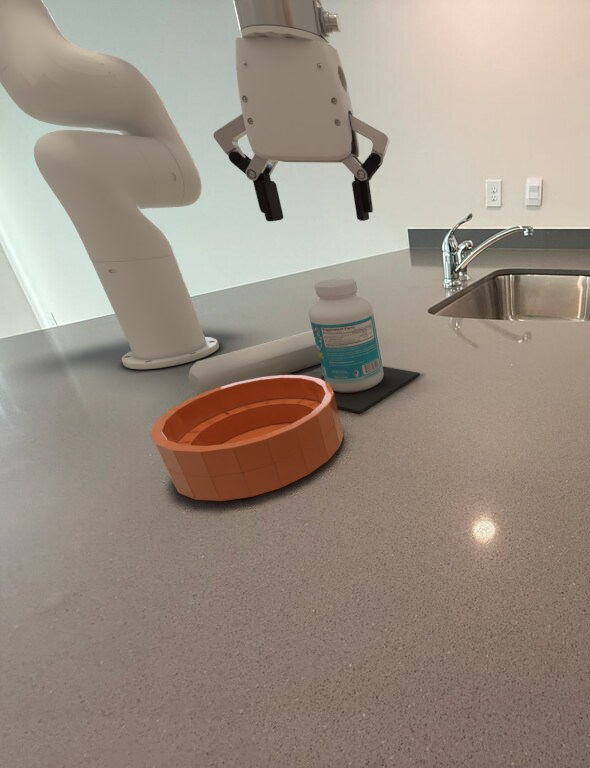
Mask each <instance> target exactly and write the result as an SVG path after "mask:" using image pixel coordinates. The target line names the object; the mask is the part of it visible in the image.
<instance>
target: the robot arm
mask: <svg viewBox="0 0 590 768" xmlns="http://www.w3.org/2000/svg"><path fill="white" fill-rule="evenodd" d="M232 2H233V6H234V11H235V16H236V20H237V24H238V28H239V32H240V33H239V34H240V37H235V38H234V51H235V70H236V79H237V81H236V82H237V89H238V96H239V102H240V108H241V114H239V115H238V116H237V117H235V118H234V119H232V120H230V121H229V122H227V123H225V124H224V125H223V126H221V127H219V128H217V130H215V131H214V132H213V138H214V140H215V141H216V143H217V144H218V145H219V147H220V148H221V149H222V151H223V152H224V153H225V154H226V155H227V157H228V160H229V162H230V163H231V164H233V165H234V166H235V167H236V168H238V169H239V170H240V171H241V172H242V173H244V175H245V176H246V178H247V179H248V180H250V181H252V184H253V187H254V192H255V195H256V199H257V204H258V207H259V208H258V209H259V210H260V212H261V213H262V214H264V217H265V220H266V222H277V221H282V220H283V219H284V212H283V208H282V205H281V199H280V194H279V190H278V187H277V183H276V182H275V181H274V180H272V179H271V175H272V173H273V172H274V171H275V168H276V166H277V164H278V163H279V162H283V163H314V164H315V163H317V164H319V163H322V164H325V163H326V164H329V163H332V164H333V163H334V164H335V163H337V164H338V163H339V164H341V163H342V164H343V165H344V166H345V167H346V168H347V169H348V170H349V171H350V172H351V173H352V175H353V179H354V180H352V182H351V187H352V188H351V189H352V193H353V201H354V202H353V203H354V207H355V214H356V219H357V220H358V221H360V222H363V221H368V220H369V219H370V213H373V211H374V207H373V200H372V193H371V185H370V181H371V180H372V179H373V176H374V175H375V174H376V173H377V171H378V170H379V169H380V167H382V165H383V163H384V158H385V155H386V153H387V151H388V148H389V145H390V141H391V140H390V137H389V136H388V135H387V134H385V133H384V132H382V131H381V130H378V129H377V128H375V127H374V126H372V125H370V124H368V123H366V122H364V121H363V120H361V119H359V118H357V117H355V116H354V110H353V106H352V101H351V95H350V92H349V88H348V82H347V78H346V74H345V71H344V68H343V65H342V62H341V58H340V55H339V52H338V50H337V49H336V48H335V47H334V46H332V45H331V44H330V37H331V35H332V34H334V33H341V31H342V29H341V22H340V18H339V14H338V13H330V11H326V10H325V9H324V7H323V6H322V0H232ZM0 85H1V86H2V88H3V89H4V90H5V92H6V93H7V95H8V96H9V97H10V98H11V100H12V102H14V104H15V105H16V106H17V107H18V108H19V109H20V110H21V111H22V112H24V114H26V115H28V117H31V118H33V119H34V120H37V121H39V122H43V123H45V124H50V125H55V126H59V127H60V126H62V127H68V128H77V129H62V130H61V129H60V130H54V131H49V132H46V133H44V134H42V135H41V136H40V137H39V138H38V139H37V140H36V142H35V144H34V146H33V156H34V161H35V164H36V166H37V168H38V170H39V172H40V174H41V176H42V178H43V179H44V181H45V183H46V184H47V186H48V187H49V188H50V190H51V191H52V193H53V194H54V196H55V198H57V200H58V202H59V204H60V205H61V206H62V208H63V209H64V211H65V212H66V214H67V215H68V217H69V220H70V221H71V222H72V225H73V227H74V228H75V230H76V232H77V234H78V236H79V239H80V240H81V242H82V244H83V247H84V248H85V251H86V253H87V256H88V257H89V259H90V261H91V264H92V266H93V268H94V270H95V272H96V275H97V277H98V279H99V282H100V283H101V286H102V288H103V290H104V293H105V295H106V297H107V299H108V301H109V304H110V306H111V308H112V310H113V312H114V315H115V317H116V319H117V321H118V324H119V326H120V328H121V331H122V332H123V334H124V337H125V339H126V342H127V344H128V347H129V348H130V351H128V352H127V353H124V355H123V356H122V357H121V362H122V365H123V366H124V367H125V368H127V369H130V370H131V369H132V370H153V369H154V370H155V369H163V368H168V367H174V366H175V367H176V366H180V365H183V364H187V363H192V362H195V361H199V360H202V359H203V358H205V357H208V356H210V355H213V354H214V353H215V352H216V351H218V350H219V348H220V343H219V341H218V339H216V338H214V337H210V336H205V334H204V331H203V328H202V325H201V322H200V320H199V318H198V315H197V312H196V309H195V306H194V303H193V300H192V298H191V295H190V292H189V290H188V286H187V284H186V282H185V279H184V276H183V273H182V271H181V270H182V269H181V268H180V265H179V262H178V258H177V256H176V254H175V252H174V249H173V246H172V244H171V241H170V240H169V238H168V237H167V235H166V233H164V231H163V230H162V229H161V228H160V227H159V226H158V225H157V224H155V223H154V222H153V220H152V219H150V218H149V217H147V215H146V214H144V213H143V212H142V211H141V210H146V209H170V208H171V209H172V208H184V207H188V206H189V207H190V206H192V205H194V204H196V203H197V202H198V201H199V200H200V198H201V196H202V191H203V184H202V178H201V175H200V172H199V169H198V166H197V164H196V162H195V160H194V158H193V155H192V154H191V152H190V150H189V148H188V146H187V144H186V142H185V141H184V139H183V137H182V135H181V133H180V131H179V129H178V128H177V126H176V123H175V122H174V120H173V118H172V116H171V114H170V112H169V111H168V108H167V107H166V105H165V103H164V101H163V99H162V96H160V93H159V92H158V90H157V89H156V87H155V86H154V85H153V83H152V82H151V81H150V79H149V78H148V77H147V76H146V74H144V72H142V71H141V70H140V69H139V68H138V67H136V66H135V65H134V64H133V63H131V62H129V61H127V60H125V59H124V58H121V57H119V56H116V55H113V54H110V53H106V52H102V51H97V50H93V49H89V48H84V47H81V46H78V45H76V44H75V43H73V42H72V41H70V40H68V38H67V37H66V36H65V35H64V34H63V32H62V31H61V29H60V28H59V26H58V24H57V23H56V21H55V19H54V17H53V16H52V13H51V12H50V10H49V8H48V7H47V5H46V4H45V2H44V1H43V0H0ZM83 129H87V130H83ZM104 131H105V132H104ZM106 131H107V132H106ZM114 132H115V133H114ZM358 134H359V135H361V136H362V137H365V138H366V139H368V140H370V141H371V143H372V148H371V152H370V154H369V155H368V156H367V157H366V159H365V160H364V162H362V161H361V160H360V158H359V156H360V143H359V137H358ZM245 136H247V140H248V145H249V147H250V149H251V151H252V153H253V154H254V155H253V157H252V158H250V157H249V156H248V155H247V154H245V153H244V152H243V150H242V148H241V147H240V145H239V143H238V142H239V140H240V139H242V138H244V137H245Z"/></svg>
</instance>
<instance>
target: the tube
mask: <svg viewBox="0 0 590 768" xmlns="http://www.w3.org/2000/svg"><path fill="white" fill-rule="evenodd" d="M319 364H320V365H321V362H320V358H319V354H318V350H317V346H316V342H315V338H314V334H313V330H312V329H310V330H308V331H304V332H301V333H297V334H293V335H289V336H285V337H282V338H277V339H275V340H271V341H267V342H263V343H260V344H255V345H253V346H248V347H245V348H242V349H237V350H233V351H230V352H227V353H223V354H219V355H215V356H211V357H208V358H205V359H199V360H196V361H195V362H194V363H193V365H192V366H191V367H190V369H189V371H188V375H187V377H188V382H189V385H190V387H191V388H192V389H193V390H194V392H195V393H196V394H197V395H200V394H202V393H205V392H207V391H210V390H212V389H215V388H219V387H222V386H225V385H229V384H232V383H236V382H240V381H245V380H250V379H255V378H260V377H268V376H278V375H291V374H292V373H296V372H299V371H302V370H305V369H308V368H310V367H314V366H316V365H319Z"/></svg>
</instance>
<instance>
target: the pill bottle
mask: <svg viewBox="0 0 590 768" xmlns="http://www.w3.org/2000/svg"><path fill="white" fill-rule="evenodd" d="M314 291H315V294H316V296H317V298H319V299H318V300H316V301H315V302H313V303H312V304H311V305H310V307H309V310H308V318H309V322H310V326H311V330H313V334H314V338H315V342H316V346H317V350H318V354H319V358H320V362H321V363H320V365H321V366H320V367H321V370H322V374H323V377H324V378H325V382H327V383H329V384H330V385H331V387H332V390H333V391H336V392H340V393H353V392H359V391H363V390H367V389H369V388H372V387H374V386H376V385H377V384H378V383H379V382H380V381H381V380H382V379H383V375H384V373H383V367H384V366H383V360H382V357H381V356H382V355H381V351H380V350H381V349H380V344H379V338H378V334H377V327H376V322H375V316H374V310H373V306H372V304H371V302H370V301H369V300H368V299H366V298H365V297H362V296H360V295H358V294H357V293H358V285H357V281H356V279H353V278H348V277H347V278H345V277H343V278H340V277H339V278H331V279H325V280H320V281H317V282H315V283H314Z"/></svg>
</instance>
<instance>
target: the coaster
mask: <svg viewBox="0 0 590 768" xmlns="http://www.w3.org/2000/svg"><path fill="white" fill-rule="evenodd" d="M383 373H384V375H383V379H382V380H381V381H380V382H379V383H378V384H377V385H376V386H374V387H372V388H369V389H367V390H363V391H359V392H353V393H340V392H336V391H333V392H334V395H335V400H336V404H337V408H338V410H342V411H345V412H349V413H354V414H359V415H361V414H362V413H364V412H365V411H367V410H369V409H371V408H372V407H373V406H375V405H377V404H378V403H379V402H381V401H382V400H385V398H387V397H390V395H391V394H393V393H395V392H396V391H398V390H399V389H401V388H402V387H404V386H405V385H407V384H408V383H410V382H412V381H413V380H415V379H416V378H418V377H419V376H420V375H421V374H420V372H418V371H412V370H405V369H400V368H395V367H394V368H393V367H390V366H389V367H388V366H383ZM319 379H322V380H324V381H325V378H324V376H322V377H319Z"/></svg>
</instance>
